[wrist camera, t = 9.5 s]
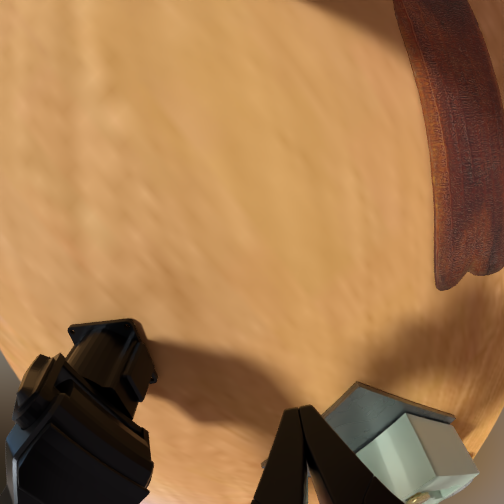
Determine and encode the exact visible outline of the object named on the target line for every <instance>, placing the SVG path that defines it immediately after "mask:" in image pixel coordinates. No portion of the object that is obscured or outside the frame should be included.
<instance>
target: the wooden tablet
mask: <svg viewBox="0 0 504 504" xmlns="http://www.w3.org/2000/svg"><path fill="white" fill-rule="evenodd" d="M393 3H394V10H395V15H396V19H397V21H398V25H399V28H400V31H401V34H402V37H403V40H404V43H405V46H406V48H407V52H408V55H409V59H410V62H411V66H412V69H413V73H414V77H415V81H416V84H417V88H418V91H419V95H420V100H421V104H422V109H423V115H424V120H425V126H426V131H427V138H428V145H429V151H430V162H431V176H432V185H433V201H434V273H435V282H436V283H435V284H436V288H437V289H438V290H440V291H443V290H448V289H450V288H452V287H453V286H455V285H456V284H458V282H459V281H460V280H461V279H462V277H463V276H464V275H465V274H466V273H467V272H470V273H472V274H473V275H478V276H485V275H490V274H493V273H496V272H498V271H500V270H501V269H502V268H503V267H504V110H503V106H502V101H501V96H500V92H499V88H498V84H497V81H496V77H495V73H494V70H493V66H492V63H491V60H490V56H489V53H488V50H487V47H486V44H485V41H484V38H483V35H482V33H481V31H480V29H479V26H478V23H477V21H476V18H475V16H474V14H473V11H472V9H471V7H470V5H469V3H468V1H467V0H393Z"/></svg>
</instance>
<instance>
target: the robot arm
mask: <svg viewBox="0 0 504 504" xmlns="http://www.w3.org/2000/svg"><path fill="white" fill-rule="evenodd" d="M126 324H128V325H129V326H130V327H128V326H126ZM73 330H74V331H73ZM68 333H69V335H70V337H71V339H72V341H73V343H74V346H73V348H72V349H71V351H70V352H69V354H68V355H67V357H66V358H65V357H64V356H63V355H62V354H61V353H59V354H57V355H56V356H55V357H52V358H50V357H47V356H44V355H41V354H40V355H39V356H37V357H36V359H35V360H34V361H33V363H32V364H31V365H30V367H29V368H28V370H27V371H26V373H25V374H24V376H23V379H22V381H21V383H20V386H19V388H18V391H17V398H16V402H15V407H14V411H13V416H12V420H13V421H15V422H16V424H15V426H14V427H13V429H12V430H11V432H10V433H9V435H8V436H7V438H6V472H7V473H6V474H7V485H6V487H5V489H4V490H3V492H2V494H1V495H0V504H139V503H140V502H141V501H142V500H143V499H144V498H145V497H146V496H147V495H148V494H149V493H150V491H149V490H148V489H147V487H148V485H149V483H150V481H151V477H152V473H153V468H154V463H153V461H151V453H150V444H149V432H148V431H147V430H146V429H144V428H143V427H142V428H141V427H140V426H138V425H137V424H136V423H135V422H133V421H132V420H133V417H134V414H135V411H136V408H137V405H138V402H142V401H143V400H144V398H145V395H146V392H147V389H148V386H149V384H152V383H156V382H157V379H158V376H157V374H156V372H155V370H154V364H153V362H152V360H151V358H150V355H149V353H148V351H147V349H146V346H145V344H144V343H143V342H142V341H141V339H140V336H139V334H138V332H137V329H136V327H135V325H134V323H133V321H132V320H130V319H119V320H110V321H102V322H92V323H83V324H73V325H70V327H69V328H68ZM151 377H152V378H151ZM307 465H308V468H307ZM308 469H309V472H310V476H311V479H312V482H313V485H314V488H315V491H316V494H317V497H318V500H319V503H320V504H405V503H404V502H403V501H401V500H400V499H399V498H398V497H396V496H395V495H394V494H393V493H392V492H391V491H390V490H389V489H388V488H387V487H386V486H385V485H384V484H383V483H382V482H381V481H380V480H379V479H378V478H377V477H376V476H374V474H373V473H372V472H371V471H370V470H369V469H368V468H367V467H366V465H365V464H364V463H363V462H362V461H361V460H360V459H359V458H358V457H357V456H356V454H355V453H354V452H353V451H352V450H351V449H350V448H349V447H348V446H347V444H346V443H345V442H344V441H343V440H342V439H341V438H340V437H339V435H338V434H337V433H336V432H335V431H334V430H333V429H332V427H331V426H330V425H329V424H328V423H327V422H326V421H325V419H324V418H323V417H322V416H321V415H320V414H319V412H318V411H317V410H316V409H315V408H314V407H313V406H312V405H305V406H300V407H299V410H298V408H297V407H294V408H289V409H285V410H284V412H283V416H282V419H281V422H280V425H279V428H278V431H277V434H276V437H275V440H274V443H273V446H272V448H271V451H270V454H269V457H268V460H267V463H266V465H265V468H264V471H263V474H262V476H261V479H260V482H259V484H258V487H257V490H256V492H255V495H254V497H253V498H254V499H253V500H252V502H251V504H308ZM373 476H374V477H373Z"/></svg>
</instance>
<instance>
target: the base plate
mask: <svg viewBox="0 0 504 504" xmlns="http://www.w3.org/2000/svg"><path fill="white" fill-rule="evenodd" d="M405 413H408V414H411V415H415V416H418V417H422V418H425V419H429V420H433V421H437V422H441V423H445V424H449V425H450V424H451V423H452V422H453V421H454V420H455V419H456V418H455V416H454V415H452V414H448V413H445V412H442V411H439V410H436V409H432V408H429V407H426V406H423V405H420V404H417V403H414V402H411V401H408V400H406V399H403V398H400V397H397V396H394V395H391V394H389V393H386V392H383V391H380V390H378V389H375V388H372V387H370V386H367V385H365V384H362V383H359V382H356V383H355V384H354V385H353V386H352V387H351V388H350V389H349V390H348V391H347V392H346V393H345V394H343V395H342V396H341V397H340V398H339V399H338V400H337V401H336V402H335V403H334V404H333V405H332V406H331V407H330V408H329V409H327V410H326V411H325V412H324V413H323V414H322V415H321V416H322V417H323V418H324V419H325V421H326V422H327V423H328V424H329V425H330V426H331V427H332V429H333V430H334V431H335V432H336V433H337V434H338V435H339V437H340V438H341V439H342V440H343V441H344V442H345V443H346V444H347V446H348V447H349V448H350V449H351V450H352V451H353V452H354V453H355V454H356V453H357V452H359V451H360V450H361V449H363V448H364V447H365V446H367V445H368V444H369V443H370V442H372V441H373V440H374V439H375V438H377V437H378V436H379V435H380V434H382V433H383V432H384V431H385V430H386V429H388V428H389V427H390V426H391V425H392V424H393V423H395V422H396V421H397V420H398V419H399V418H400V417H401V416H402V415H404V414H405ZM267 460H268V459H267ZM267 460H265V461H264V462H263V463H261V466H262V468H265V465H266V463H267ZM307 468H308V465H307ZM308 477H311V476H310V472H309V469H308ZM429 498H430V495H429V492H424V493H421V492H417V493H416V494H414V495H413V496H411V497H410V500H408V501H407V502H406V503H405V504H422V503H424V502H425V501H427V500H428V499H429Z"/></svg>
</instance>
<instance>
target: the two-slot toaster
mask: <svg viewBox="0 0 504 504" xmlns="http://www.w3.org/2000/svg"><path fill="white" fill-rule="evenodd" d="M356 456H357V457H358V458H359V459H360V460H361V461H362V462H363V463H364V464H365V465H366V467H367V468H368V469H369V470H370V471H371V472H372V473H373V474H374V476H376V477H377V478H378V479H379V480H380V481H381V482H382V483H383V484H384V485H385V486H386V487H387V488H388V489H389V490H390V491H391V492H392V493H393V494H394V495H395V496H396V497H398V498H399V499H400V500H401V501H403V502H404V503H406V502H407V501H408V500H410V497H411V496H413V495H414V494H416V493H417V492H421V493H424V492H429V495H430V498H429V499H428V500H427V501H425V502H424V503H422V504H437V503H439V502H440V501H442V500H444V499H445V498H447V497H448V496H449V495H451V494H452V493H454V492H455V491H457V490H458V489H459V488H461V487H462V486H464V485H465V484H466V483H468V482H469V481H470V480H472V479H473V478H474V477H475V476H476V475H478V474H479V471H478V469H477V467H476V465H475V463H474V462H473V460H472V458H471V456H470V454H469V453H468V451H467V449H466V447H465V446H464V444H463V442H462V440H461V439H460V437H459V435H458V433H457V432H456V430H455V428H454V427H453V425H449V424H445V423H441V422H437V421H433V420H429V419H425V418H422V417H418V416H415V415H411V414H408V413H405V414H404V415H402V416H401V417H400V418H399V419H398V420H397V421H396V422H395V423H393V424H392V425H391V426H390V427H389V428H388V429H386V430H385V431H384V432H383V433H382V434H380V435H379V436H378V437H377V438H375V439H374V440H373V441H372V442H370V443H369V444H368V445H367V446H365V447H364V448H363V449H361V450H360V451H359V452H357V453H356ZM374 476H373V477H374Z"/></svg>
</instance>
